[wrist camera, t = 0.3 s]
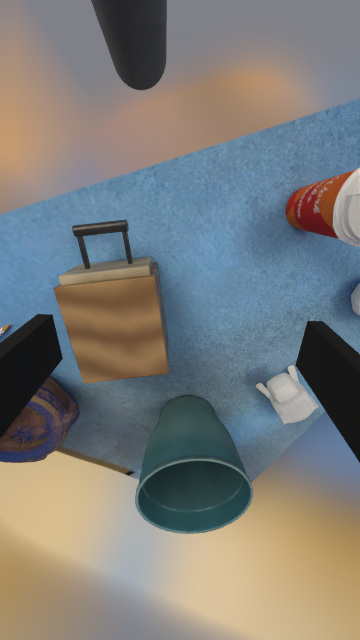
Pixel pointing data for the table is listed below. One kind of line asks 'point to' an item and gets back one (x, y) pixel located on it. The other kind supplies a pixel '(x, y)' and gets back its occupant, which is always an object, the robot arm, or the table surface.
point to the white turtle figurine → (288, 397)
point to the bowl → (40, 425)
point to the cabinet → (116, 327)
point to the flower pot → (191, 471)
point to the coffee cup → (329, 208)
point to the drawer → (105, 269)
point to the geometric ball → (356, 300)
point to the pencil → (4, 329)
